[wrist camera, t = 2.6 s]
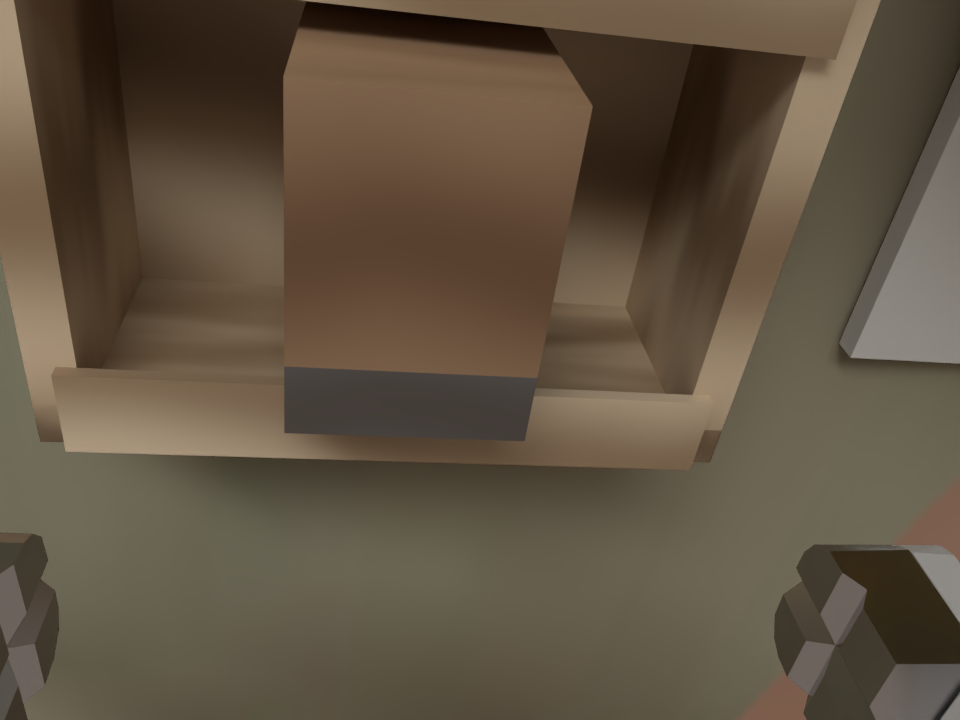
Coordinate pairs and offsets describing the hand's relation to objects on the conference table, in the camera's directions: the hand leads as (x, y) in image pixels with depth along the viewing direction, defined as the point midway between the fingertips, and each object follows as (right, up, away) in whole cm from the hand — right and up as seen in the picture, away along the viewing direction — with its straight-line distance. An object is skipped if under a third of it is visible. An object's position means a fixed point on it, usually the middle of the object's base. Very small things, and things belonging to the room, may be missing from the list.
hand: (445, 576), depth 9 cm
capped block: (-1, +8, +11) cm, 14 cm away
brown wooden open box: (-1, +8, +12) cm, 15 cm away
